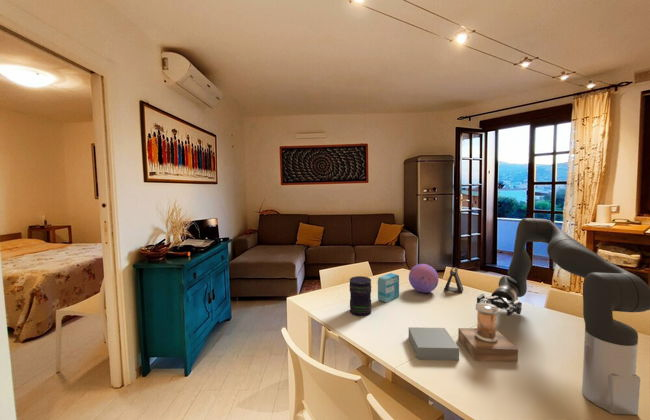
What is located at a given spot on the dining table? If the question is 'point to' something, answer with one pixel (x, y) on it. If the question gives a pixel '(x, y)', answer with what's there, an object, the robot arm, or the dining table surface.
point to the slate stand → (433, 344)
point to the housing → (486, 322)
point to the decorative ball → (423, 278)
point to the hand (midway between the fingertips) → (494, 309)
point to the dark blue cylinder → (360, 296)
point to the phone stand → (458, 282)
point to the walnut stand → (487, 347)
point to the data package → (388, 287)
